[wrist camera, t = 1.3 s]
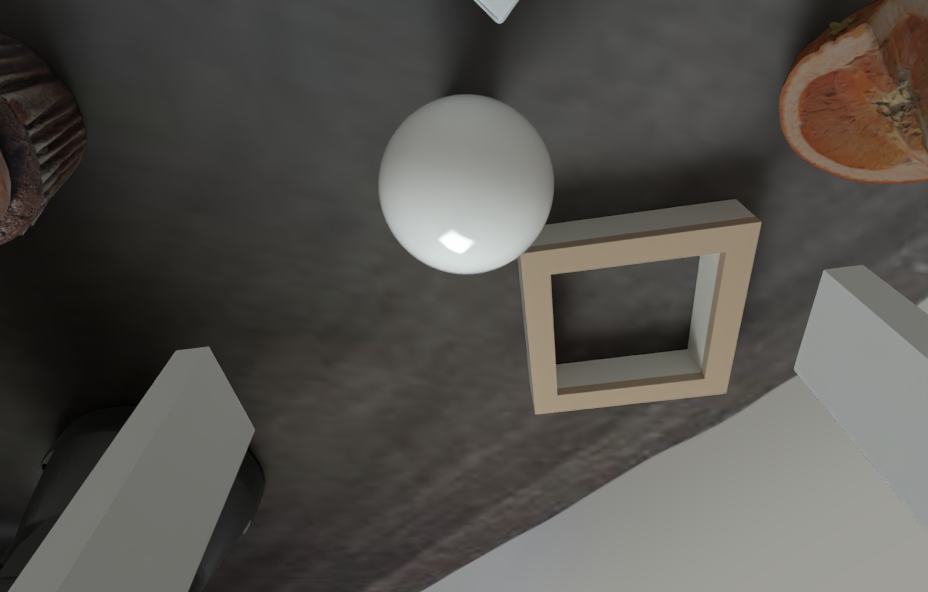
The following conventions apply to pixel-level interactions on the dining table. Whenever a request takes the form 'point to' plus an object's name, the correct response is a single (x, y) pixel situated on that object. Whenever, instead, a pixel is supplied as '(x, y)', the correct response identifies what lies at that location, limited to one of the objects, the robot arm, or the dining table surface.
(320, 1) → the dining table surface
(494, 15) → the small box
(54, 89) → the cupcake
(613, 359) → the square frame
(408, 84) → the dining table surface
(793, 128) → the fruit slice
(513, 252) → the lightbulb
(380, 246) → the dining table surface
